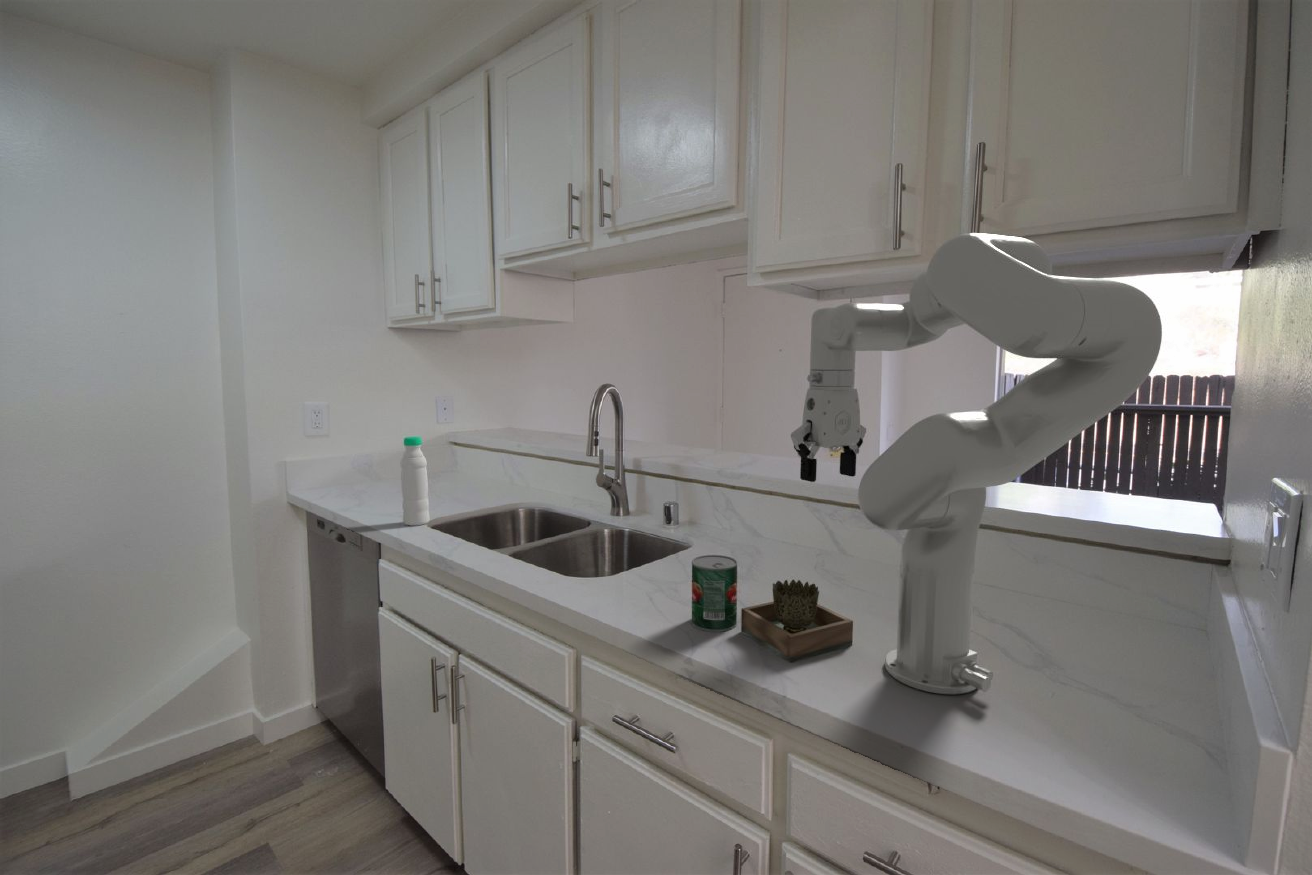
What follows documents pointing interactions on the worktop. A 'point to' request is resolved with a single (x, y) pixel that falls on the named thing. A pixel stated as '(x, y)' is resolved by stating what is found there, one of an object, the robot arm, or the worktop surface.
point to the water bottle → (414, 483)
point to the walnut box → (816, 639)
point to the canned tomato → (714, 593)
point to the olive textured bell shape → (795, 604)
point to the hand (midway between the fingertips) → (828, 477)
